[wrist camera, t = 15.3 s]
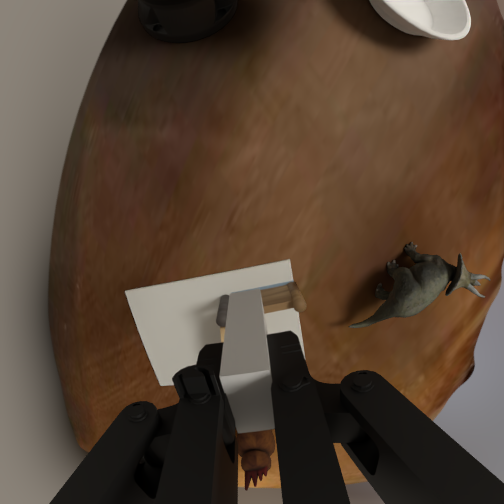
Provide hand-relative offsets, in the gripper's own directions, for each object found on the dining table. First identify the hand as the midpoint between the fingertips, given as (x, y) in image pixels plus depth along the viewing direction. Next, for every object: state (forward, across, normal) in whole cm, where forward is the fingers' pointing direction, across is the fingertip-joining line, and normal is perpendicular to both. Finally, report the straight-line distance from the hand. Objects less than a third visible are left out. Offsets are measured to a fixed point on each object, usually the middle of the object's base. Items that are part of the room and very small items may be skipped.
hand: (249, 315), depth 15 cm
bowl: (+29, +33, +35) cm, 56 cm away
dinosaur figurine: (+27, +22, -11) cm, 37 cm away
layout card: (+26, -7, -15) cm, 31 cm away
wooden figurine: (+26, -5, -37) cm, 45 cm away
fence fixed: (+27, 0, -10) cm, 28 cm away
